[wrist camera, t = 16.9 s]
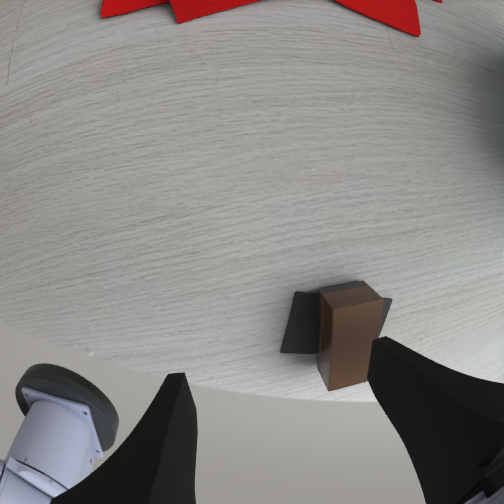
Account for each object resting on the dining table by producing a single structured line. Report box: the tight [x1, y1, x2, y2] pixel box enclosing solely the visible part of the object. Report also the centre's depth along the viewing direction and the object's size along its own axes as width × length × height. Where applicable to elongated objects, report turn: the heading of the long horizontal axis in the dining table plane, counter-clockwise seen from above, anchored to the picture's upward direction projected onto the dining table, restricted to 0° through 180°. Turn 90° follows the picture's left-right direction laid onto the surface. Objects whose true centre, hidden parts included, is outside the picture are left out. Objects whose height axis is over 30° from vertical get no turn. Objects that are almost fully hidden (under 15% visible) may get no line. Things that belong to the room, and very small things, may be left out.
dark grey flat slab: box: [281, 292, 393, 354], centre depth 21 cm, size 5×8×1 cm, turn 81°
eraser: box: [317, 281, 383, 391], centre depth 20 cm, size 7×4×3 cm, turn 6°
